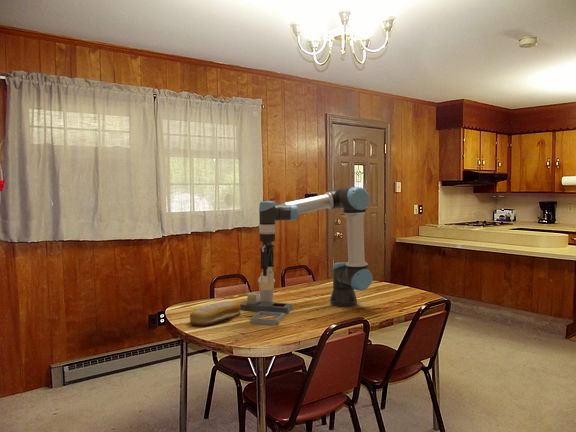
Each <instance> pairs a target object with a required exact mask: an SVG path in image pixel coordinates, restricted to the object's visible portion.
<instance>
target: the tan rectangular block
mask: <svg viewBox="0 0 576 432" xmlns="http://www.w3.org/2000/svg"><path fill="white" fill-rule="evenodd" d="M260 277H261V290H272V289H273V288H274V289H275V282H274V280H275V272H274V271H272V272H268V283H263V271H262V272H260ZM274 289H273V290H274Z"/></svg>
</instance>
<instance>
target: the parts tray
mask: <svg viewBox="0 0 576 432" xmlns="http://www.w3.org/2000/svg"><path fill="white" fill-rule="evenodd" d="M285 315H286V314H285V313H277V312H263V311H259V312H257V313H256V314H254V315H253V316H252V317H250V324H254V325H255V324H256V325H270V326H278V325H279V324H280V321H281V320H282V319H283V318H284V317H285ZM259 316H274V317H277V318H276V319H272V318H271V319H269V318H260V317H259Z"/></svg>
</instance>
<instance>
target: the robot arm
mask: <svg viewBox="0 0 576 432" xmlns="http://www.w3.org/2000/svg"><path fill="white" fill-rule="evenodd" d="M370 199H371V198H370V194H369V193H368V191H367V190H366V189H365V188H363V187H359V186H349V187H347V186H345V187H340V188H337V189H336V188H335V189H334V190H330V191H329V190H328V191H326V192H325V193H324V194H321V195H314V196H310V197H306V198H305V197H304V198H301V199H297V200H296V199H295V200H291V201H286V202H281V203H275V202H276V201H274V200H262V201H260V202H259V204H258V205H259V206H258V207H259V208H258V214H259V218H258V220H259V225H258V228H259V239H258V240H259V242H261V243H262V245H261V247H260V249H259V250H260V269H261V270H262V272H263V283H268V272H273V268H274V267H275V261H274V260H275V259H274V258H275V257H274V255H275V252H274V247H275V245H274V244H273V242H276V234H275V233H276V221H290V222H291V221H296V220H297V219H298V218H299V215H301V214H306V213H311V212H315V211H320V210H325V209H328V210H333V209H342V210H343V212H342V213H343V215H344V216H345V217H346V236H347V237H346V238H347V257H348V258H347V260H348V261H344V262H335V263H333V264H332V292H331V295H330V297H329V304H330V305H332V306H337V307H354V306H356V305H357V304H358V298H357V295H356V292H355V291H359V292H361V291H362V292H363V291H365V290H367V289H368V288H369V287H370V286H371V284H372V282H373V273H372V272H371V271H370V270H369V264H368V262H366V259H365V258H366V255H365V234H364V233H365V231H364V215H366V211H367V210H366V209H367V208H368V206H369V204H370Z"/></svg>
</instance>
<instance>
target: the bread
mask: <svg viewBox="0 0 576 432" xmlns="http://www.w3.org/2000/svg"><path fill="white" fill-rule="evenodd" d="M240 308H241V307H240V304H239V303H238V302H234V301H222V302H215V303H212V304H209V305H206V306H203V307H199V308H197V309H195V310H194V311H191V313H189V321H190V324H192V325H194V326H197V327H208V326H211V325H214V324H218V323H222V322H226V321H231V320H232V319H233V318H236V317H239V316H240V315H241V310H240Z"/></svg>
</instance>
